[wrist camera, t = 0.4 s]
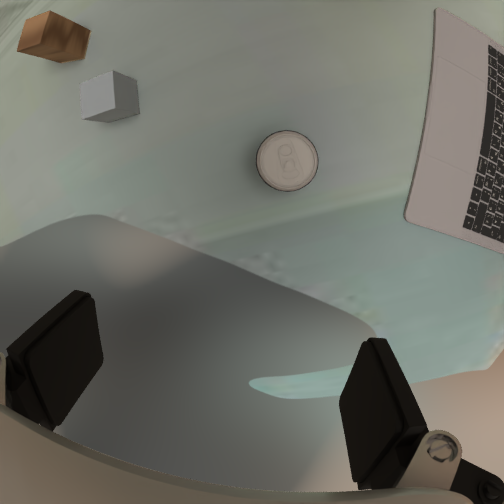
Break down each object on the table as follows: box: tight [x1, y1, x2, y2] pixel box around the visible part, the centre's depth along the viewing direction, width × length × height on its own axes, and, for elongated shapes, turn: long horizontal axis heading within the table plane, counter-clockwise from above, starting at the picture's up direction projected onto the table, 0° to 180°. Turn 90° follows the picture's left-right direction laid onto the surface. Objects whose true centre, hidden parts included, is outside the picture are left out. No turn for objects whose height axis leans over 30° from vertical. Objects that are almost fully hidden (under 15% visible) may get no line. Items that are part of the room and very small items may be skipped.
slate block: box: [80, 70, 140, 122], centre depth 32 cm, size 5×5×7 cm
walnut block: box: [17, 11, 91, 63], centre depth 27 cm, size 5×5×11 cm
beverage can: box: [256, 130, 318, 192], centre depth 31 cm, size 6×6×12 cm
